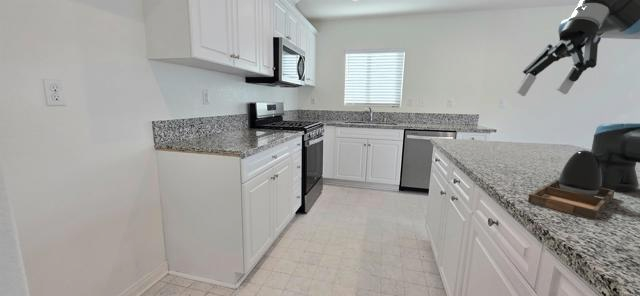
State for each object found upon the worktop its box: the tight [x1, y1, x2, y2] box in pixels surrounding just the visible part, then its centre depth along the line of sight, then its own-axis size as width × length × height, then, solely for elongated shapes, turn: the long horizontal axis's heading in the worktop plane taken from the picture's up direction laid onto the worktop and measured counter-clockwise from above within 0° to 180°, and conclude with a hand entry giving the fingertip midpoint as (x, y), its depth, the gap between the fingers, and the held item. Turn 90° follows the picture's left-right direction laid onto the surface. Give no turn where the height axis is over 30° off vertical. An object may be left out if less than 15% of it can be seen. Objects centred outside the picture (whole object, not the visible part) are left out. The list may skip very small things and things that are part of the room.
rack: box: [527, 178, 616, 221], centre depth 84 cm, size 29×15×2 cm, turn 126°
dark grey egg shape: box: [558, 149, 605, 197], centre depth 87 cm, size 10×10×15 cm
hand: (539, 93), depth 78 cm, fingers open, 13 cm apart
